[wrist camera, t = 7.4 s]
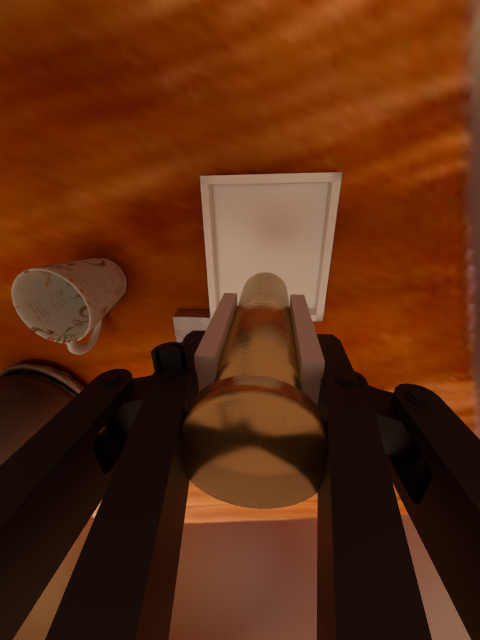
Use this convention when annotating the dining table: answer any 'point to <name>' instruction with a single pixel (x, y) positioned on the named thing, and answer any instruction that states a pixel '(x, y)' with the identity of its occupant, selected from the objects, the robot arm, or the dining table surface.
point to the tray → (270, 232)
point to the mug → (69, 299)
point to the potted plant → (31, 402)
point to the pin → (256, 411)
